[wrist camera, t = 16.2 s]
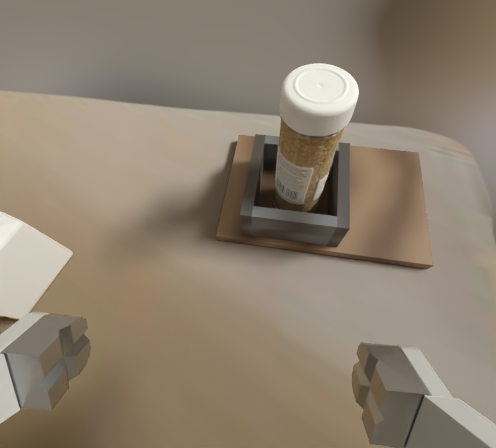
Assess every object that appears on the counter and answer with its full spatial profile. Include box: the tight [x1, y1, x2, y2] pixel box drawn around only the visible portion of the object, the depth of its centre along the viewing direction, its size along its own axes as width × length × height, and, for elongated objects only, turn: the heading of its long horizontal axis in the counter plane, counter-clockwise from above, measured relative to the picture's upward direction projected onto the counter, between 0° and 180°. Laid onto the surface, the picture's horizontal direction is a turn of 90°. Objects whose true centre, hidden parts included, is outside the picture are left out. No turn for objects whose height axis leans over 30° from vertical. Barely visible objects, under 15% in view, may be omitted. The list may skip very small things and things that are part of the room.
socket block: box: [216, 134, 434, 269], centre depth 27 cm, size 20×13×5 cm, turn 81°
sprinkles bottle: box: [273, 63, 359, 213], centre depth 22 cm, size 5×5×14 cm
